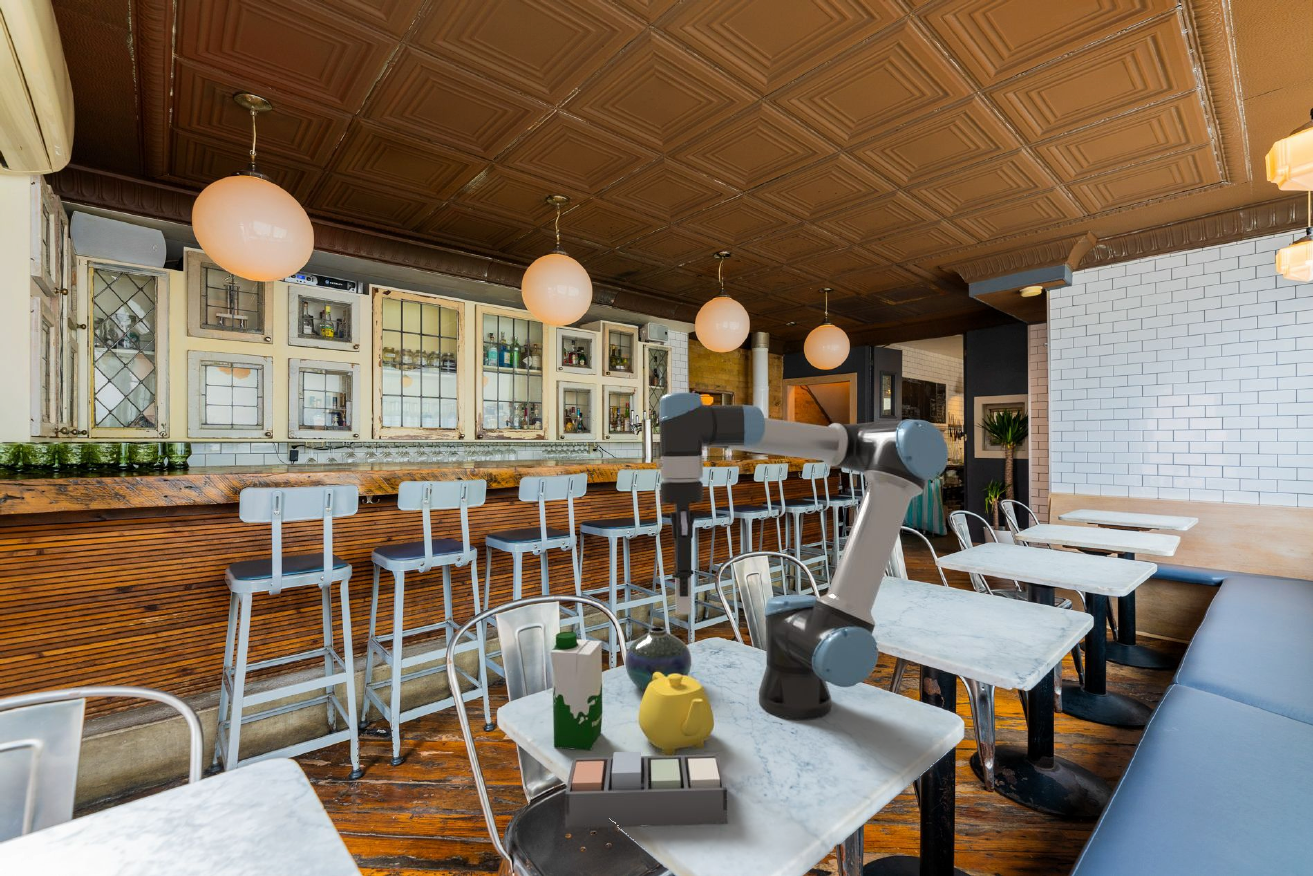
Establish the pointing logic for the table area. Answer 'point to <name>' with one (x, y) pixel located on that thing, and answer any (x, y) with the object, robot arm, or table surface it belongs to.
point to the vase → (656, 657)
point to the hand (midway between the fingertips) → (683, 613)
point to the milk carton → (576, 691)
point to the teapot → (675, 713)
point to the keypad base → (646, 799)
